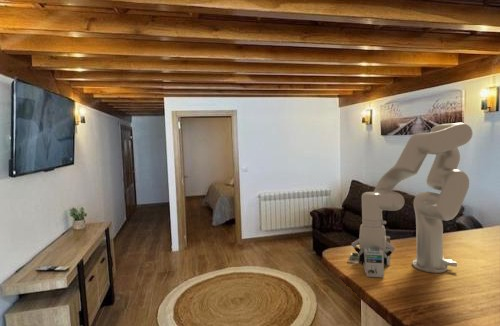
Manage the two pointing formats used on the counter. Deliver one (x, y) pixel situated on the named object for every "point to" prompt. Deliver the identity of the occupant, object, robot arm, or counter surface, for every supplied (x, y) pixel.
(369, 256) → the light bulb box
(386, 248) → the plate
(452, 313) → the counter surface
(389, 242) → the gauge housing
